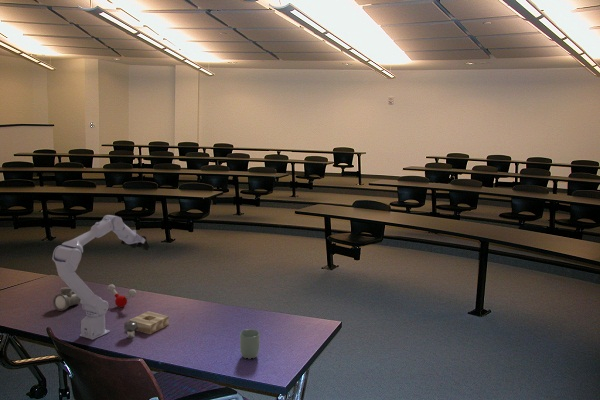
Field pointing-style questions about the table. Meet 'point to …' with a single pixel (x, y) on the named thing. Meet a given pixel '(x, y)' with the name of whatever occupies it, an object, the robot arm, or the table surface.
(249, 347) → the cup
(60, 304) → the pipe fitting
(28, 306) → the table surface
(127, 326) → the steel pin
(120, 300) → the molecular model
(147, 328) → the wooden block
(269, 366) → the table surface
